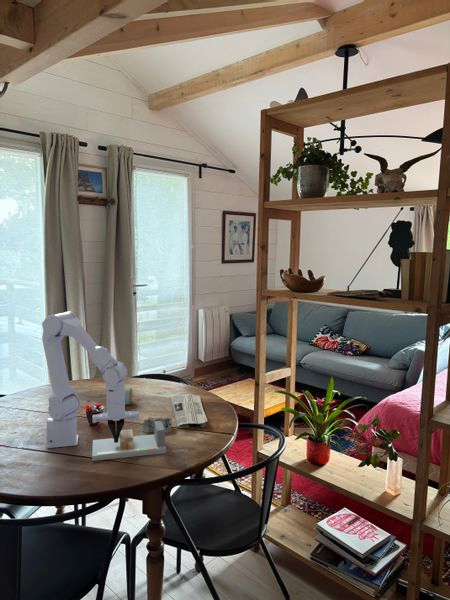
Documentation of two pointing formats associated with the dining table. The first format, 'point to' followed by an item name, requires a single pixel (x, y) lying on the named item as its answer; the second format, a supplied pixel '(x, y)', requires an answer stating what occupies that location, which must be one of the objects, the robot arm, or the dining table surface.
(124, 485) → the dining table surface
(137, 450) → the gauge bed
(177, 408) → the newspaper
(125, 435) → the beige block with peg
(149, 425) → the egg carton
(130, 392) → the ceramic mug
